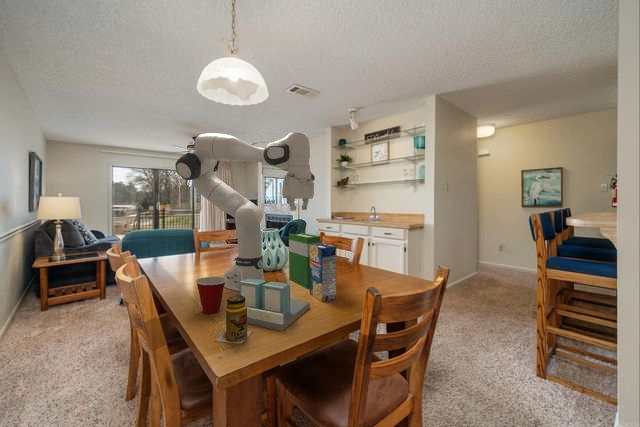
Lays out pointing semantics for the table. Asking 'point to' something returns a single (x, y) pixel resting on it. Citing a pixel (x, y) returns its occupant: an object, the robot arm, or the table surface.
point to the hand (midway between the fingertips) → (299, 210)
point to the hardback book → (300, 258)
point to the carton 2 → (276, 297)
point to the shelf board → (276, 316)
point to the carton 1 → (252, 292)
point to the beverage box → (323, 271)
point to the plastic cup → (211, 293)
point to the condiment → (235, 321)
